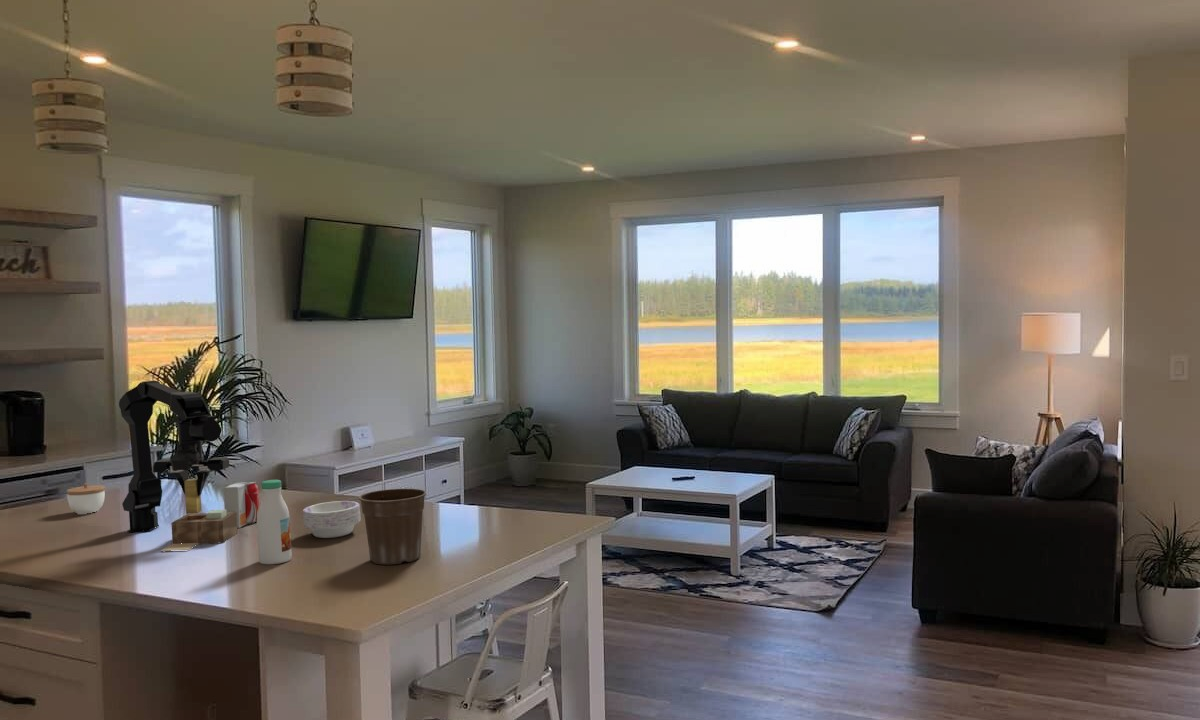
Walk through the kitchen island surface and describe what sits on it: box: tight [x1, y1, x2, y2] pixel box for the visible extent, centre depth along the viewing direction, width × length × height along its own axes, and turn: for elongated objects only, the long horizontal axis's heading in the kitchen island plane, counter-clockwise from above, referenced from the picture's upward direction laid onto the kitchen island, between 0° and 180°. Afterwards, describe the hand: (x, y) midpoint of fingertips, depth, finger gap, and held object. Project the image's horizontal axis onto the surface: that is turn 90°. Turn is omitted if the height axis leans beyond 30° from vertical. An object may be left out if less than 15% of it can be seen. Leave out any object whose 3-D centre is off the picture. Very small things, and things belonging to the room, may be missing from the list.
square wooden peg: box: [184, 478, 202, 515], centre depth 254 cm, size 3×3×9 cm
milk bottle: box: [256, 479, 293, 565], centre depth 229 cm, size 8×8×20 cm
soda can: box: [234, 480, 260, 525], centre depth 274 cm, size 7×7×12 cm
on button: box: [205, 509, 227, 519], centre depth 255 cm, size 4×4×3 cm
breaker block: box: [171, 512, 238, 544], centre depth 255 cm, size 14×11×6 cm
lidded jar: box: [66, 482, 106, 515], centre depth 296 cm, size 11×11×9 cm
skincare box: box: [223, 483, 248, 529], centre depth 269 cm, size 6×4×12 cm
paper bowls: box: [302, 500, 362, 539], centre depth 256 cm, size 15×15×8 cm
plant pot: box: [358, 488, 427, 566], centre depth 228 cm, size 16×16×16 cm
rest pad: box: [160, 543, 199, 552], centre depth 246 cm, size 7×7×1 cm
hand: (193, 495), depth 254 cm, fingers closed on square wooden peg, 3 cm apart
